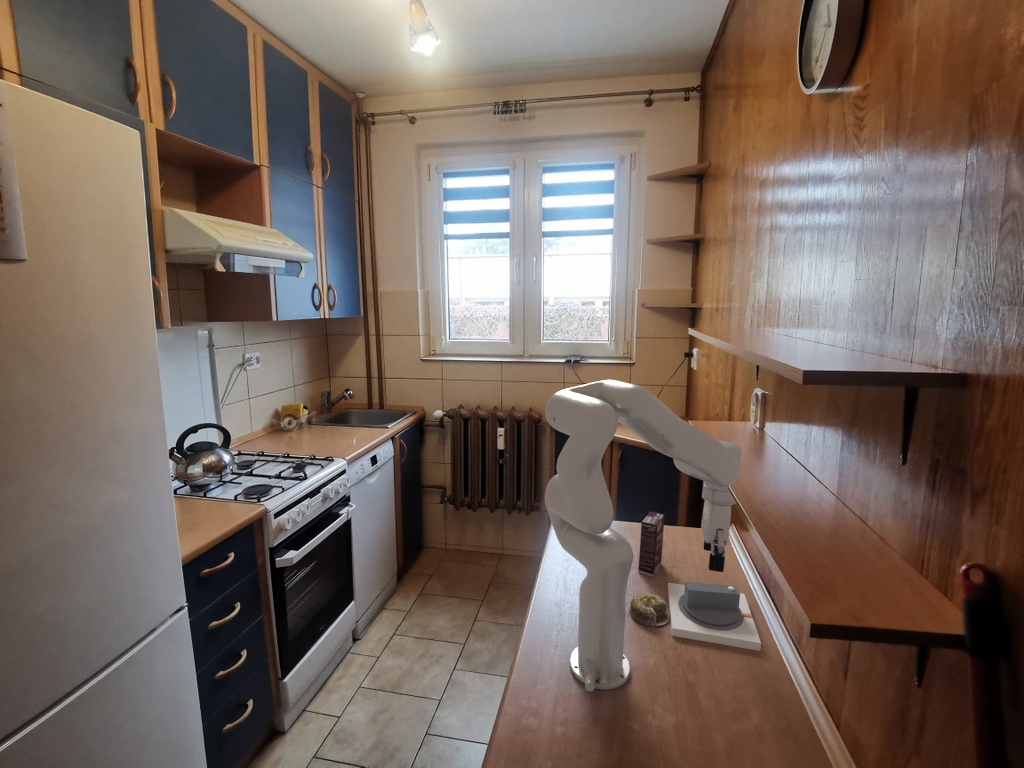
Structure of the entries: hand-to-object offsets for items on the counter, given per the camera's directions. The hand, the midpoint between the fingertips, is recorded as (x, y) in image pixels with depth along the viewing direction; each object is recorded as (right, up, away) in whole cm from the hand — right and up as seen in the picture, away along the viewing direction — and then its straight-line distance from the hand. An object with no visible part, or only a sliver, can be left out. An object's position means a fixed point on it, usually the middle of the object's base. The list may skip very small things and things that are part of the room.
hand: (712, 560), depth 116 cm
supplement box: (-8, -12, +25) cm, 28 cm away
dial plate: (0, -15, +3) cm, 16 cm away
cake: (-14, -16, +4) cm, 22 cm away
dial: (0, -13, +3) cm, 13 cm away
